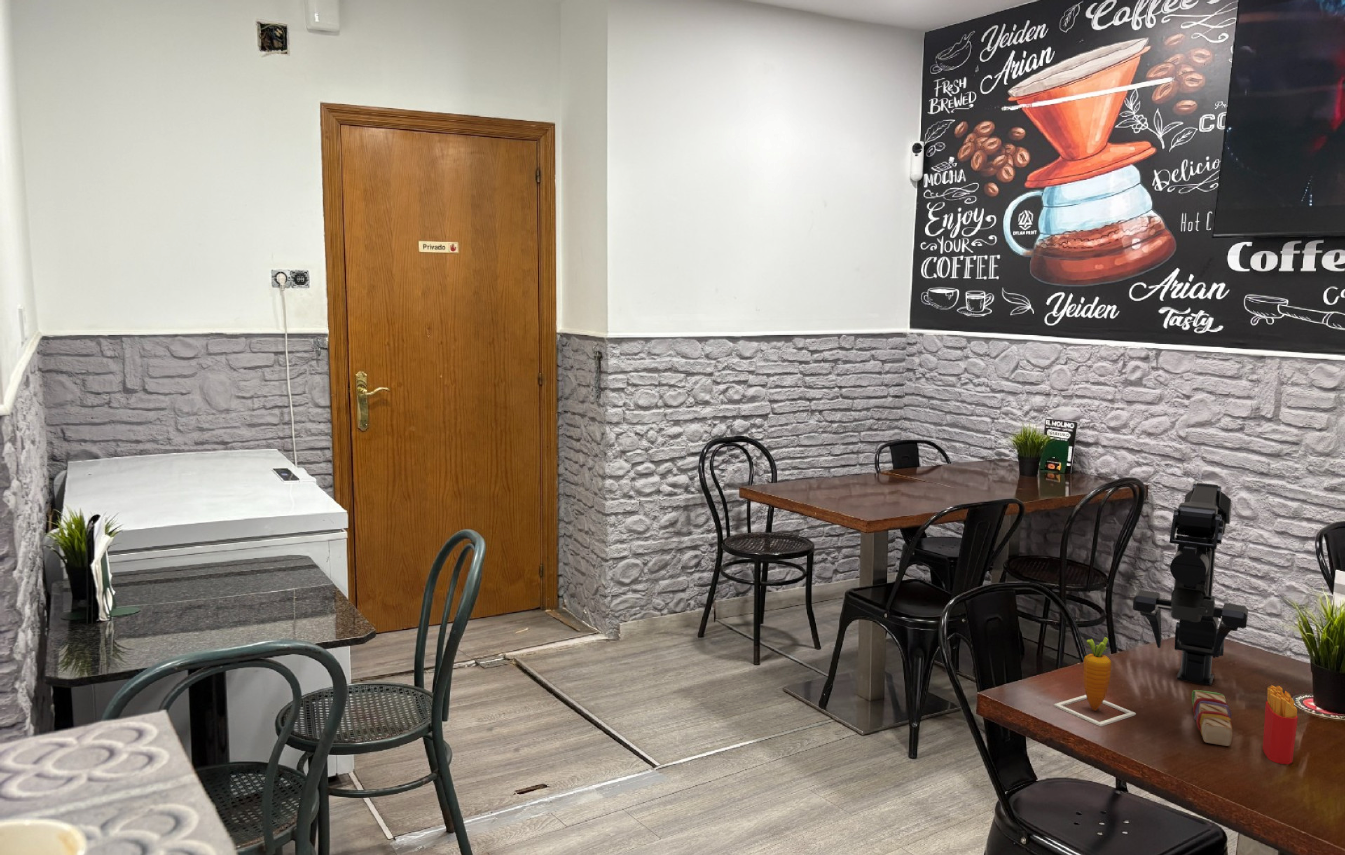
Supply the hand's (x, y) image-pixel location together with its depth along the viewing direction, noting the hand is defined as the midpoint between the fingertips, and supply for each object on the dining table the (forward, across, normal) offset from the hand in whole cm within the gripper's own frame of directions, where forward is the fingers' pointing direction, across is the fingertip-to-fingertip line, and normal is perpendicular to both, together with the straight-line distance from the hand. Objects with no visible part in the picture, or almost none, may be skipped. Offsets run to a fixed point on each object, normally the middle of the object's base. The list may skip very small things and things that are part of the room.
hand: (1186, 652), depth 181 cm
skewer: (+15, +5, +4) cm, 16 cm away
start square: (+15, -15, -2) cm, 21 cm away
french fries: (+15, +16, -4) cm, 22 cm away
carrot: (+15, -15, -2) cm, 21 cm away
